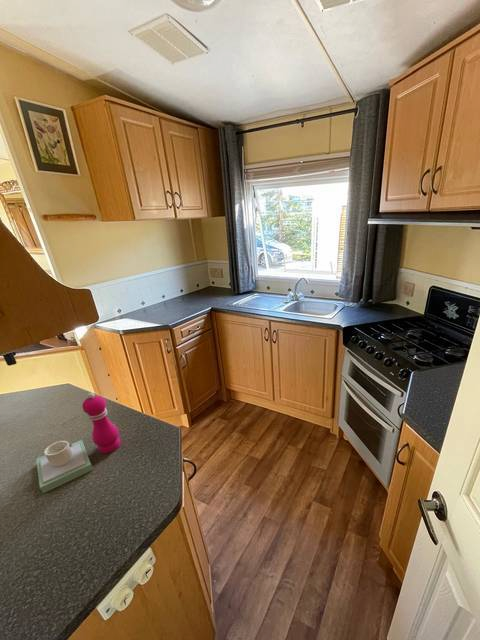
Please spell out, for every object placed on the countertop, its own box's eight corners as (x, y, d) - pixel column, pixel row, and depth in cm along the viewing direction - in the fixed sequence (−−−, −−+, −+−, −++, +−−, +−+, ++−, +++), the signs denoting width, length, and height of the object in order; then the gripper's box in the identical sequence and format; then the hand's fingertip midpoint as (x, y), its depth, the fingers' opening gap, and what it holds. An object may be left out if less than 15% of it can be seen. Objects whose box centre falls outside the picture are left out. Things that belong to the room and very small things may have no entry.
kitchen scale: (38, 464, 87) (35, 457, 85) (84, 445, 93) (81, 438, 92) (43, 493, 77) (38, 486, 75) (93, 469, 83) (90, 462, 82)
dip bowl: (45, 468, 81) (39, 456, 79) (57, 453, 86) (51, 441, 84) (67, 466, 81) (61, 454, 79) (77, 451, 87) (72, 439, 85)
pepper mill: (102, 458, 87) (80, 403, 79) (93, 447, 92) (71, 394, 83) (126, 445, 92) (107, 391, 83) (117, 435, 97) (98, 384, 88)
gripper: (-27, 307, 86) (-3, 356, 93) (-32, 317, 76) (-5, 371, 83) (6, 302, 90) (26, 350, 97) (5, 311, 80) (28, 363, 87)
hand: (12, 360), depth 90 cm, fingers open, 8 cm apart
